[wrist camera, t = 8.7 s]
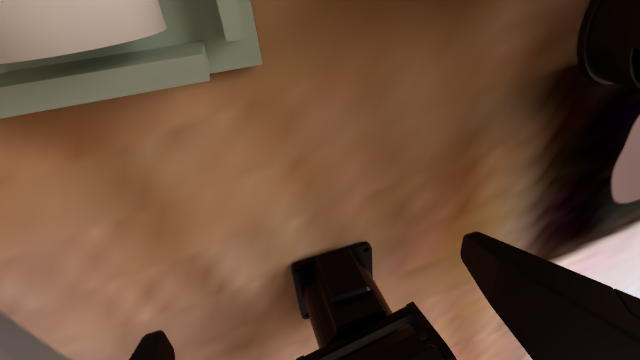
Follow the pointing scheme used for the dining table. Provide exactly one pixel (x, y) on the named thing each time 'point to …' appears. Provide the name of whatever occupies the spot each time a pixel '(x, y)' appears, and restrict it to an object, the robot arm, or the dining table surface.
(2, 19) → the roll
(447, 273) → the dining table surface
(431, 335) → the robot arm
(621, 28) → the french press
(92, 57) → the holder
